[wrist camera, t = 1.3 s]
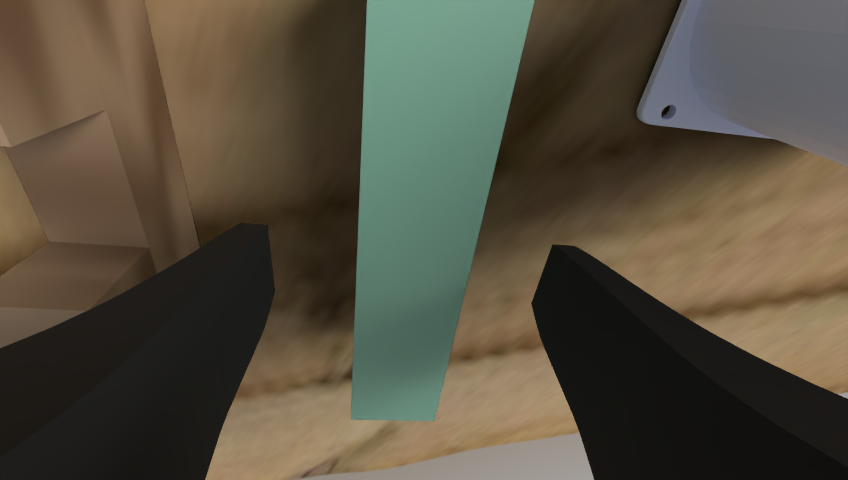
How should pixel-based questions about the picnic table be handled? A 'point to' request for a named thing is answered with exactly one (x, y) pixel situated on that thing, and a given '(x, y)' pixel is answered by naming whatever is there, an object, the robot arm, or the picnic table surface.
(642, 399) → the robot arm
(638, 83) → the picnic table surface
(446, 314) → the green notched bar
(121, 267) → the walnut notched bar
